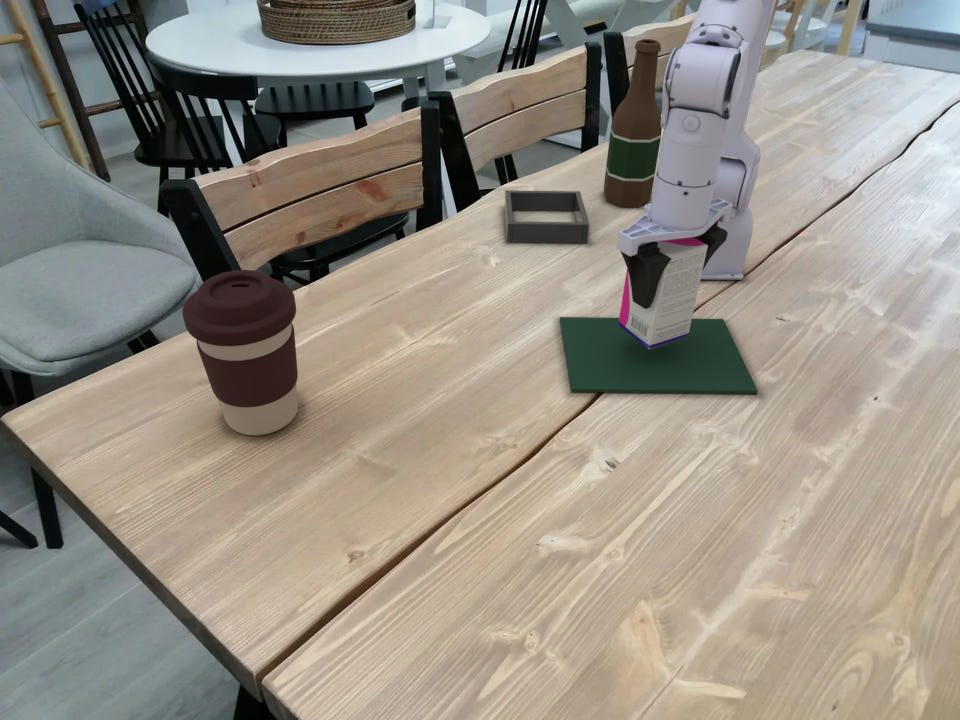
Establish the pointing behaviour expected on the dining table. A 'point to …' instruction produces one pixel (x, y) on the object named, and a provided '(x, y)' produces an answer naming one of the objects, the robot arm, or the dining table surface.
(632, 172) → the beer bottle
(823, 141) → the dining table surface
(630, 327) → the supplement box
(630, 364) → the mat
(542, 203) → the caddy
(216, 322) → the coffee cup
